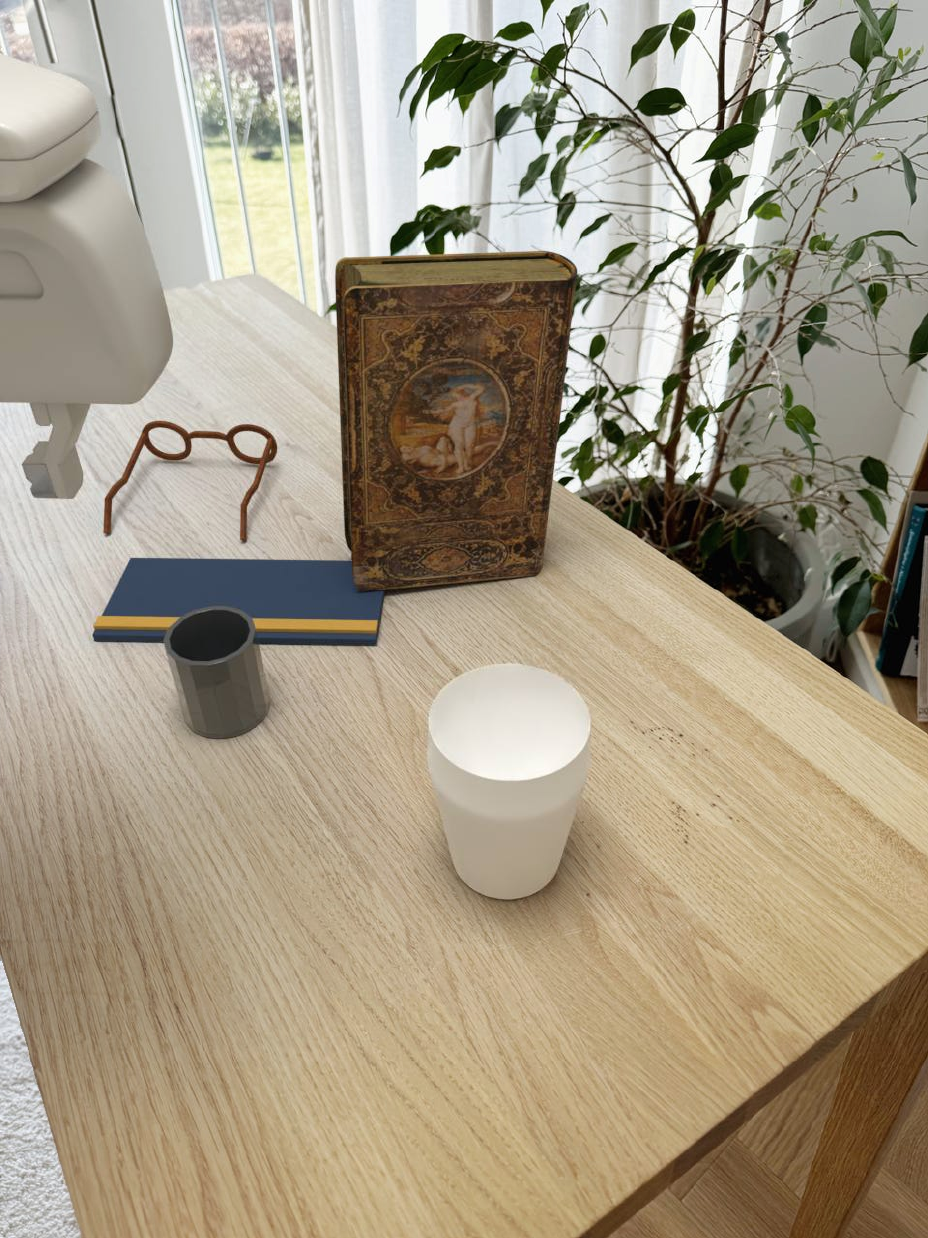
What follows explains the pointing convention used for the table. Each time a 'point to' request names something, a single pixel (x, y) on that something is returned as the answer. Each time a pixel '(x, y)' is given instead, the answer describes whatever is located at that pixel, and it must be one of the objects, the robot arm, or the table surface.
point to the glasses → (145, 440)
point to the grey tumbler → (218, 671)
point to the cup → (508, 774)
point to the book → (450, 412)
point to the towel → (244, 599)
